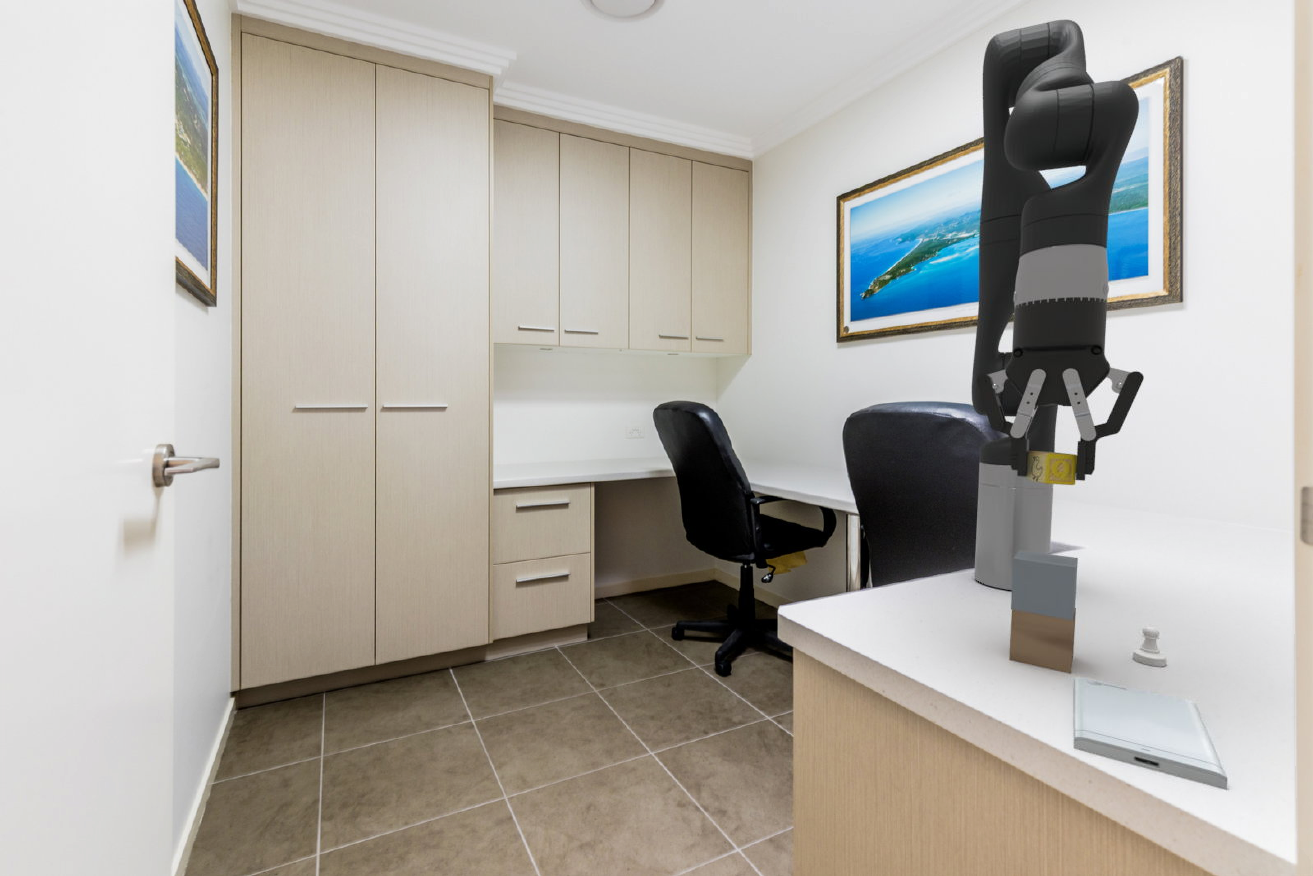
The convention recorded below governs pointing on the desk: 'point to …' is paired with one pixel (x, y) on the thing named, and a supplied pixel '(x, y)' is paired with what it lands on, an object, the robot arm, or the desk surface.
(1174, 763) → the hard drive
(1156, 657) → the chess pawn
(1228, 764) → the desk surface
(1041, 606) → the tower top
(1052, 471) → the alphabet block
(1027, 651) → the block
